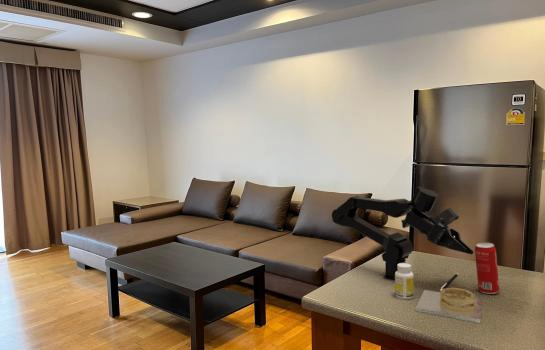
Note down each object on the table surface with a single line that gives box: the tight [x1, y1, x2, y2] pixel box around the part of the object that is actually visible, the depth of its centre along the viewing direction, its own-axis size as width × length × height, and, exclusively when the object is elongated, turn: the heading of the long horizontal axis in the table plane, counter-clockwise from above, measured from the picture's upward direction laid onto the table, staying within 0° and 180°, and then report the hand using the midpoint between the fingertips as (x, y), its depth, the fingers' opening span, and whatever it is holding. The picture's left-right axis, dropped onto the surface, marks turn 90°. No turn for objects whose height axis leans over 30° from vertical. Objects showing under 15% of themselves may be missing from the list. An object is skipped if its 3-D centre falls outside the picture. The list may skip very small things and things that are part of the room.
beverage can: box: [474, 241, 500, 295], centre depth 120 cm, size 6×6×15 cm
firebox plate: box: [415, 287, 483, 324], centre depth 111 cm, size 16×14×4 cm
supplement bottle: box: [394, 262, 415, 300], centre depth 119 cm, size 5×5×10 cm
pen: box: [439, 273, 459, 292], centre depth 130 cm, size 1×19×1 cm, turn 139°
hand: (469, 252), depth 116 cm, fingers open, 9 cm apart
